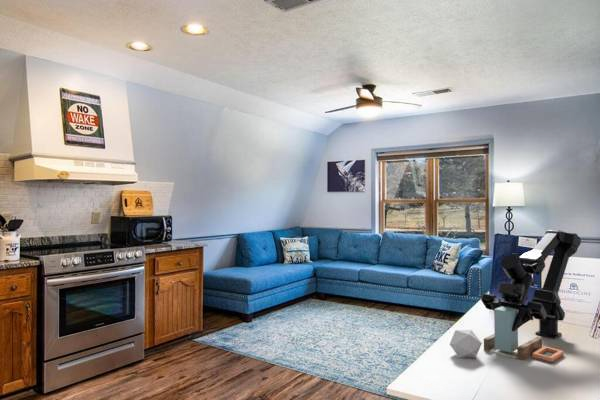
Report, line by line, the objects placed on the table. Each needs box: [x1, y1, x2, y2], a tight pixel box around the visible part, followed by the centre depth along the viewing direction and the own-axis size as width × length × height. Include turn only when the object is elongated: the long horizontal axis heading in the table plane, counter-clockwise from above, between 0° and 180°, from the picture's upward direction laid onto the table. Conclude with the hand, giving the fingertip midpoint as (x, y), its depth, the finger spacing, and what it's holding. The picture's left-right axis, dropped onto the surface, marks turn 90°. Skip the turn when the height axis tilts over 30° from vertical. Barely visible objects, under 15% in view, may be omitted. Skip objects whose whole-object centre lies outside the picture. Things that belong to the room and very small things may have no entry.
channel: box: [483, 333, 543, 361], centre depth 137 cm, size 14×12×4 cm
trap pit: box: [531, 345, 565, 364], centre depth 130 cm, size 9×6×2 cm, turn 129°
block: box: [493, 306, 519, 353], centre depth 134 cm, size 5×5×12 cm
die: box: [449, 329, 483, 359], centre depth 132 cm, size 8×9×10 cm
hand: (504, 328), depth 133 cm, fingers closed on block, 5 cm apart
